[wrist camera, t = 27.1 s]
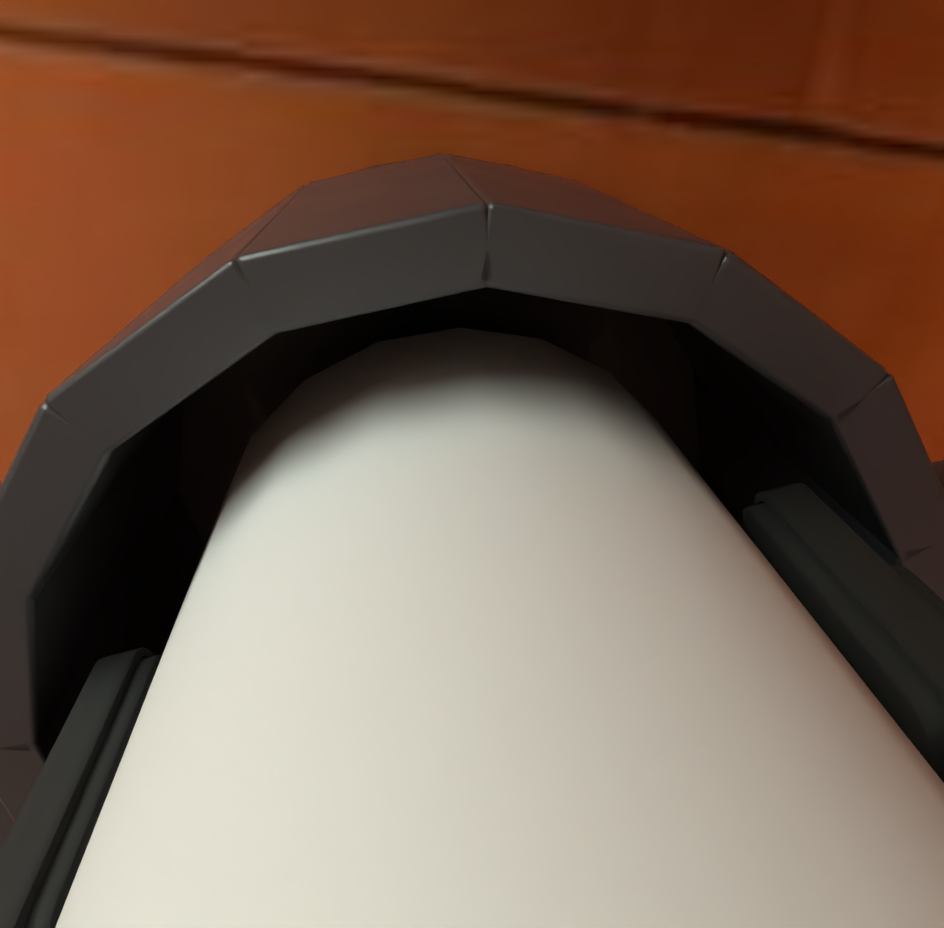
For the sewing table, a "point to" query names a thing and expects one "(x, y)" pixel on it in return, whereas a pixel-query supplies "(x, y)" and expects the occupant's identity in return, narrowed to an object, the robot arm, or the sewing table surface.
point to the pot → (396, 316)
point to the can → (499, 684)
